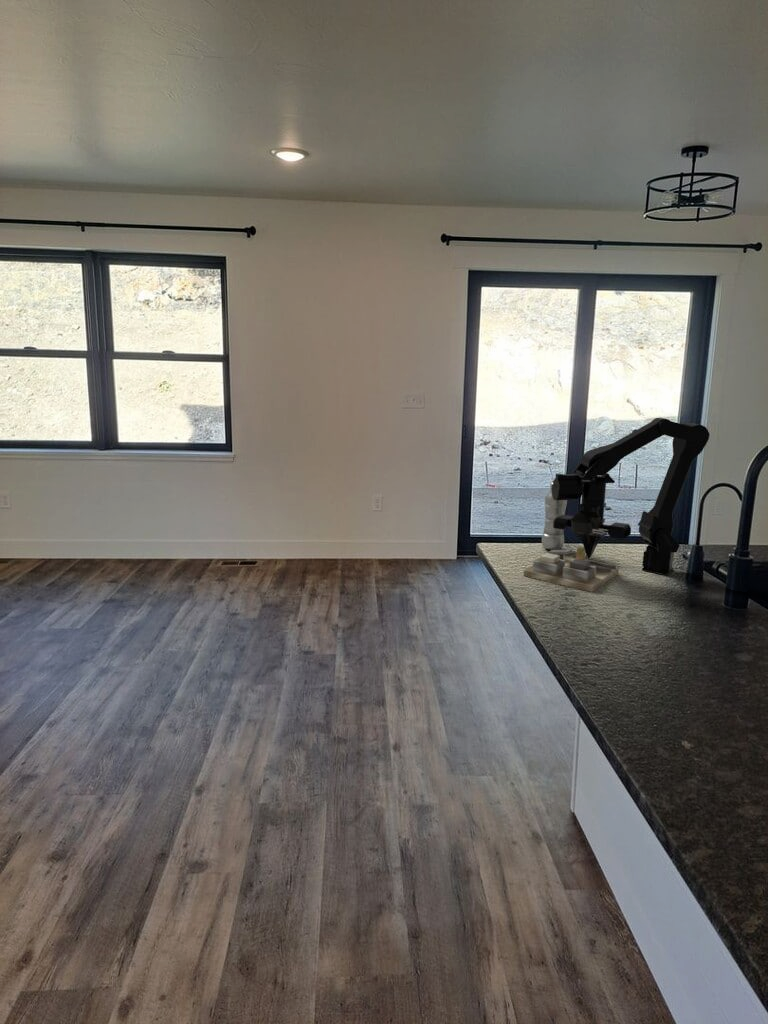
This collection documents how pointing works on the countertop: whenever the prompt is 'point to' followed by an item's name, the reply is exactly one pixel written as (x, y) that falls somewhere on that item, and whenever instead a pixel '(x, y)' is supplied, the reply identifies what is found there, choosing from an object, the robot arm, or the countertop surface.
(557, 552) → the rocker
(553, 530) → the plastic bottle
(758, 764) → the countertop surface
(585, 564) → the charcoal button
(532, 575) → the panel
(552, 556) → the cream button
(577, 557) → the slider
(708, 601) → the countertop surface
